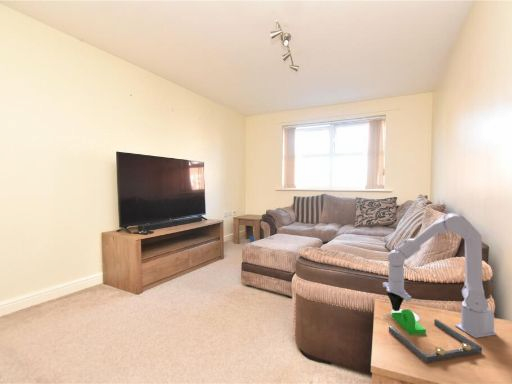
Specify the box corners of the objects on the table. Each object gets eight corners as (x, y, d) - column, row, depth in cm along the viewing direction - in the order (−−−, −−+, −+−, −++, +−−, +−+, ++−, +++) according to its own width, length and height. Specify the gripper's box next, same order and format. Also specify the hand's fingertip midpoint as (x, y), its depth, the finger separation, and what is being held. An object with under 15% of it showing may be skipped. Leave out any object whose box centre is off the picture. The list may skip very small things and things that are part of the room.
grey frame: (436, 324, 101) (436, 316, 100) (484, 354, 83) (484, 345, 83) (388, 331, 97) (388, 323, 97) (428, 365, 80) (428, 355, 79)
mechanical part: (425, 334, 95) (425, 313, 94) (409, 335, 95) (409, 314, 94) (405, 316, 107) (405, 298, 106) (391, 317, 107) (391, 298, 106)
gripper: (376, 273, 115) (376, 303, 116) (400, 287, 101) (400, 320, 101) (390, 271, 116) (390, 301, 117) (416, 285, 102) (415, 318, 103)
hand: (396, 310), depth 109 cm, fingers closed
